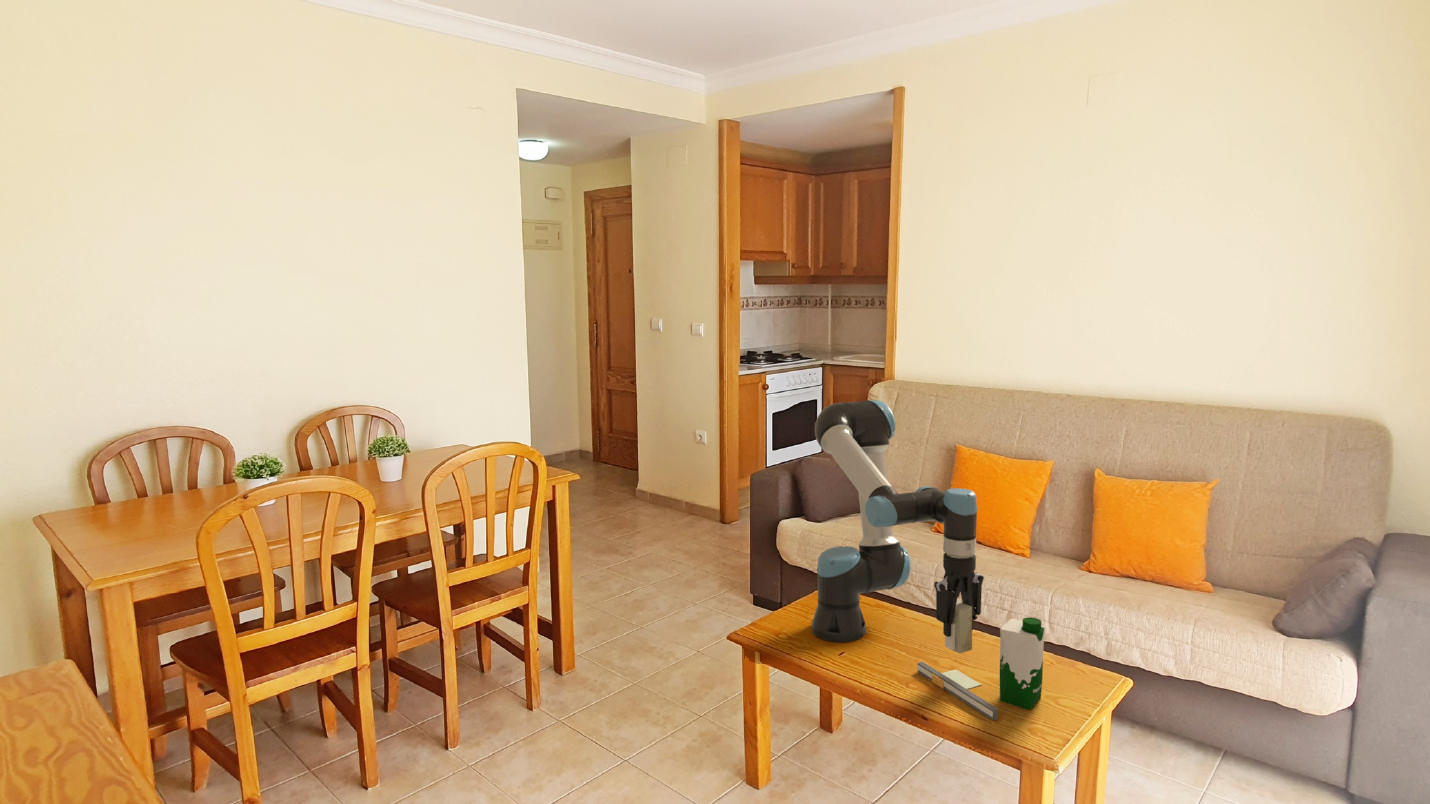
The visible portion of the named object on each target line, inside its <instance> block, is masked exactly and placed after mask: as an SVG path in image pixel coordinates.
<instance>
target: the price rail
mask: <svg viewBox="0 0 1430 804" xmlns="http://www.w3.org/2000/svg"><path fill="white" fill-rule="evenodd" d="M916 670H917V673H918V674H919V675H921V676H923V677H924V678H925V679H927V680H929V681H931V682H932V683H933V684H934V685H937V686H938V687H940V689H943V690H945V691H946V692H947V693H949V694H950V695H952V696H954V697H955V698H956V699H958V700H960V701H962V702H963V703H965V704H966V705H967V706H969V707H971V708H972V709H974V710H975V711H977V712H979V713H980V714H982V715H983V716H985V717H986V718H987V719H989V720H991V721H996V720H998V719H999V718H998V717H999V716H998V715H999V708H998V707H996V706H995V705H994V704H991V703H990V702H989V701H987V700H985V699H984V698H982V697H980V696H979V695H977V694H975V693H974V692H972V691H970V690H969V689H966V688H964V687H963V686H961V685H959V684H958V683H956V682H955V681H953V680H951V679H950V678H948V677H946V676H945V675H943V674H942V673H943V672H940V671H939V670H937V669H935V668H934V667H932V666H931V665H928V664H927V663H926V662H924V661H920V662H917V665H916Z"/></svg>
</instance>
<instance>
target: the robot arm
mask: <svg viewBox="0 0 1430 804" xmlns="http://www.w3.org/2000/svg"><path fill="white" fill-rule="evenodd" d="M896 429H897V428H896V419H895V416H894V413H893V410H891V408H890V406H889V405H888V404H887V403H885V402H884V401H881V400H874V399H873V400H871V399H870V400H859V401H858V400H857V401H848V402H835V403H831V404H829V405H828V406H827V405H826V407H824V408H823V410H821V411H820V412H819V414H818V416H817V418H816V420H815V423H814V435H815V439H816V441H817V443H818V445H819V447H820V448H821V449H822V450H823V452H825V453H826V454H829V455H831V457H832V458H833V459H834V461H835V462H836V463H837V464H838V466H839V467H840V468H841V470H842V471H843V472H844V474H845V475H846V477H847V478H848V479H849V481H851V483H852V485H853V486H854V488H855V489H856V490H857V491H858V501H859V509H860V519H861V520H860V522H861V528H862V530H861V531H862V538H861V540H860V541H859V542H858V549H857V548H856V547H853V546H843V545H841V546H840V545H839V546H834V547H830V548H827V549H825V550H824V551H822V552H821V553H820V554H819V556H818V558H817V568H816V573H817V606H816V609H815V612H814V615H813V619H812V620H811V632H812V634H813V635H814V636H816V637H817V638H819V639H822V640H824V641H829V642H836V643H837V642H838V643H848V642H854V641H857V640H859V639H862V638H863V637H865V635H866V634H867V633H866V632H867V625H866V621H865V618H864V615H863V611H862V609H861V606H860V595H861V594H867V593H872V592H878V591H884V590H887V591H888V590H893V589H895V588H901V587H902V586H904V585H905V584H906V582H907V581H908V580H909V578H910V576H911V575H910V573H911V569H912V567H911V565H912V564H911V558H910V555H909V554H908V553H909V552H908V550H907V549H906V548H905V547H904V546H902V545H901V542H900V541H901V540H899V539H898V538H897V537H896V536H895V535H894V529H893V527H894V526H901V525H908V524H916V523H922V522H923V523H924V522H930V521H934V522H937V523H939V524H941V525H943V544H942V546H943V550H942V551H943V552H944V553H943V559H942V561H943V562H942V566H943V569H944V575H943V579H941V581H935V582H934V584H933V585H934V589H935V592H936V593H935V601H936V602H935V604H936V605H935V606H936V607H935V608H936V609H935V611H936V612H935V613H936V616H935V617H936V620H937V621H939V622H940V623H942V624H943V626H942V627H943V630H942V632H943V635H944V646H945V648H947V647H948V648H947V649H948V650H951V651H953V650H955V624H954V623H953V618H954V613H955V608H956V602H957V601H958V598H959V597H960V596H961V602H962V603H964V604H967V605H969V606H972V632H973V631H974V626H975V625H974V621H977V620H978V616H980V615H981V613H982V589H983V588H982V587H983V581H984V579H985V578H984V575H982V574H979V573H978V572H977V573H976V572H975V571H976V569H977V563H976V562H977V556H976V555H975V554H976V553H977V521H978V520H977V519H978V518H977V517H978V505H977V503H978V502H977V495H976V492H974V491H973V490H972V489H966V488H960V487H959V488H958V487H957V488H955V487H953V488H948V489H946V490H945V491H944V490H942V489H939V488H937V487H932V486H927V485H926V486H920V487H919V488H918V489H917V490H915V491H912V492H903V493H898V492H897V490H896V489H894V487H893V486H892V484H891V483H890V482H889V480H888V479H889V478H888V471H887V464H886V463H887V462H886V454H885V453H886V450H887V449H888V448H889V446H890V441H889V440H891V439H892V438H893V437H894V435H895V434H896V432H895V431H896Z"/></svg>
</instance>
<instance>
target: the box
mask: <svg viewBox="0 0 1430 804" xmlns="http://www.w3.org/2000/svg"><path fill="white" fill-rule="evenodd" d="M953 623H954V624H955V650H952V651H954V652H956V653H958V654H964V653H966V652H969V651H972V650H973V631H972V606H969V605H967V604H964V603H962V601H960V600H957V602H956V608H955V613H954V618H953ZM946 648H947V649H949V648H948V647H946Z"/></svg>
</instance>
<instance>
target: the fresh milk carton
mask: <svg viewBox="0 0 1430 804" xmlns="http://www.w3.org/2000/svg"><path fill="white" fill-rule="evenodd" d="M1045 633H1046V625H1042V620H1041V619H1038V618H1036V617H1031V616H1030V617H1023V619H1022V620H1020V619H1016V618H1010V619H1009V620H1007V622H1006V623H1005V624H1003V625H1002V627H1000V629H999V634H1000V635H999V636H1000V637H999V638H1000V644H999V645H1000V647H999V648H1000V649H999V701H1000V702H1002V703H1005V704H1007V705H1008V704H1009V705H1011V706H1014V707H1018V708H1021V709H1025V710H1028V711H1032V709H1033V708H1034V707H1035V706H1036V705H1037V704H1038V703H1039V701H1040V700H1041V699H1042V690H1043V671H1044V668H1043V667H1044V645H1045Z"/></svg>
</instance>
